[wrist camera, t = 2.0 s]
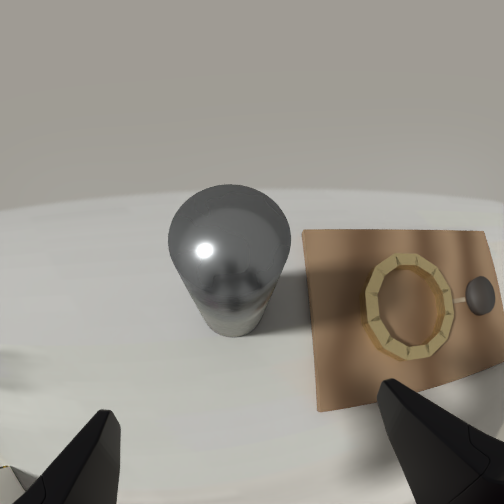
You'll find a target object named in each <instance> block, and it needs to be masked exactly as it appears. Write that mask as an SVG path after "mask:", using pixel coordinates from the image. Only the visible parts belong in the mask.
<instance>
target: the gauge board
mask: <svg viewBox="0 0 504 504" xmlns="http://www.w3.org/2000/svg"><path fill="white" fill-rule="evenodd" d="M302 240H303V249H304V257H305V266H306V275H307V284H308V294H309V304H310V314H311V326H312V337H313V350H314V363H315V378H316V395H317V411H319V412H325V411H332V410H338V409H344V408H350V407H355V406H361V405H366V404H371V403H375V402H377V394H378V391H379V388H380V385H381V382H382V381H383V380H386V379H390V378H394V379H396V380H398V381H399V382H401V383H402V384H404V385H406V386H407V387H409V388H410V389H412V390H414V391H415V392H420V391H423V390H427V389H430V388H433V387H437V386H440V385H443V384H446V383H449V382H452V381H455V380H458V379H461V378H464V377H466V376H469V375H472V374H475V373H477V372H480V371H482V370H485V369H487V368H490V367H492V366H495V365H497V364H499V363H502V362H504V311H503V305H502V300H501V295H500V290H499V285H498V281H497V276H496V272H495V268H494V264H493V261H492V257H491V253H490V250H489V246H488V243H487V240H486V236H485V233H484V231H454V230H379V229H322V230H303V232H302ZM394 253H410V254H418V255H420V256H421V257H423V258H424V259H426V260H428V261H429V262H431V263H432V264H434V265H435V266H437V267H438V269H439V271H440V272H441V274H442V275H443V277H444V279H445V280H446V282H447V284H448V285H449V287H450V289H451V295H452V302H453V309H454V318H453V321H452V325H451V329H450V332H449V335H448V339H447V340H446V341H445V342H444V343H443V344H442V345H441V346H440V347H439V348H438V349H437V350H436V351H435V352H434V353H433V354H432V355H431V356H430V357H426V358H420V359H414V360H407V361H400V362H399V361H397V360H395V359H393V358H391V357H389V356H387V355H385V354H383V353H382V352H380V351H378V350H377V349H376V348H375V347H374V345H373V343H372V342H371V340H370V338H369V337H368V335H367V333H366V332H365V330H364V328H363V327H362V325H363V324H361V313H360V301H359V296H360V292H361V290H362V288H363V285H364V283H365V281H366V278H367V276H368V274H369V272H370V271H371V270H372V269H373V268H374V267H375V266H377V265H378V264H380V263H381V262H382V261H384V260H385V259H387V258H388V257H390V256H391V255H393V254H394ZM377 296H378V306H379V317H380V319H381V321H382V323H383V324H384V326H385V328H386V329H387V331H388V333H389V334H390V336H391V337H392V338H393V339H395V340H397V341H399V342H401V343H403V344H404V345H406V346H408V347H413V346H420V345H421V344H422V343H423V342H424V341H425V340H426V339H427V338H428V337H429V336H430V335H431V334H432V332H433V329H434V326H435V322H436V319H437V308H436V300H435V295H434V294H433V292H432V290H431V289H430V287H429V286H428V284H427V282H426V281H425V279H423V278H422V277H420V276H418V275H417V274H415V273H414V272H412V271H410V270H392V271H391V272H389V273H388V274H387V275H385V276H384V279H383V282H382V284H381V287H380V289H379V292H378V294H377Z"/></svg>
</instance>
